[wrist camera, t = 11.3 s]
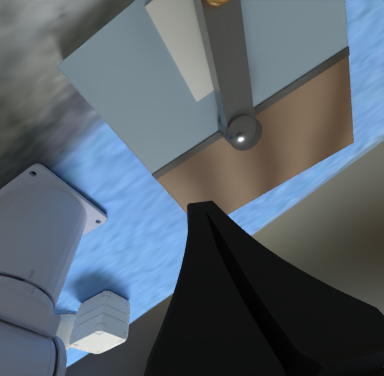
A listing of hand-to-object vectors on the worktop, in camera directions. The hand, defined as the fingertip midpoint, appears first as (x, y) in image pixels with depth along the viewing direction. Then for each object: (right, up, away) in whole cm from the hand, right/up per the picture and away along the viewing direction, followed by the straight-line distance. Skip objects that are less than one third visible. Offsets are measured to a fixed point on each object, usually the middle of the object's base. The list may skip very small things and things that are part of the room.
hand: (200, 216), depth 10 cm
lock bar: (+2, +10, +3) cm, 10 cm away
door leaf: (+1, +11, +4) cm, 12 cm away
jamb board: (+6, +5, +9) cm, 12 cm away
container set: (-20, -19, +20) cm, 34 cm away
